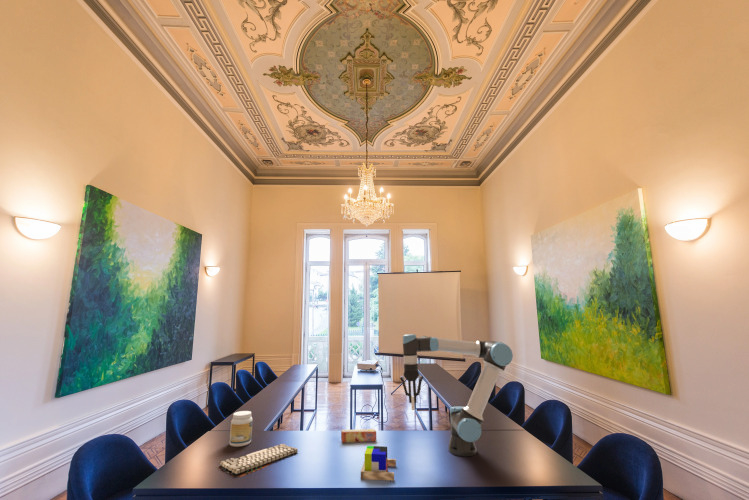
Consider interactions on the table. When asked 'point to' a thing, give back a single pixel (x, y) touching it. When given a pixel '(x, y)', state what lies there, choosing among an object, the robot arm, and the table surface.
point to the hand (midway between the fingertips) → (413, 409)
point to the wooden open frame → (379, 475)
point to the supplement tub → (241, 429)
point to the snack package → (358, 435)
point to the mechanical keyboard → (256, 460)
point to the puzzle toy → (376, 459)
